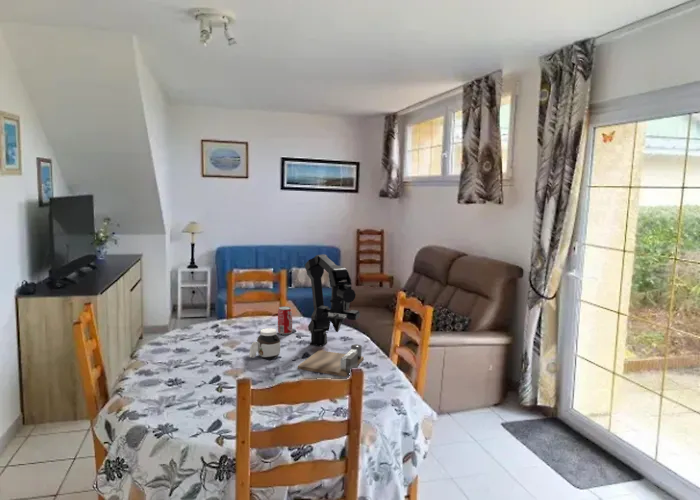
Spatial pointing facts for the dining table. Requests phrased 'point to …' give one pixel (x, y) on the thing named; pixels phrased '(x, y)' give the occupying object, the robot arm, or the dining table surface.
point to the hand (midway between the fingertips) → (337, 331)
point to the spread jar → (266, 345)
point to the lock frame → (330, 363)
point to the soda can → (284, 320)
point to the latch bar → (354, 348)
